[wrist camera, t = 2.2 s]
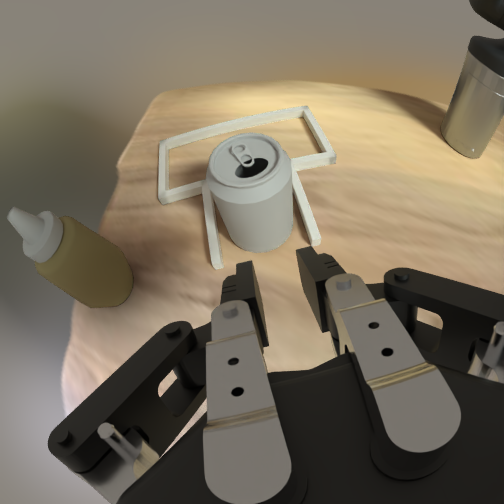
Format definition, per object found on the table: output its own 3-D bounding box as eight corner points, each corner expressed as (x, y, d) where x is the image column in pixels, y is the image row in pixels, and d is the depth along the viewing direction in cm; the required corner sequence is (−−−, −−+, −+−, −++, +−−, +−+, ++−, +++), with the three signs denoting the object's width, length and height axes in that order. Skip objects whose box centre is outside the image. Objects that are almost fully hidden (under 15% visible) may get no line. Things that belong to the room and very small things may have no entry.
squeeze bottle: (85, 279, 33) (-12, 215, 17) (126, 244, 34) (39, 157, 18) (105, 328, 30) (-13, 277, 13) (152, 290, 31) (45, 209, 15)
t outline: (367, 232, 30) (370, 226, 29) (166, 281, 31) (161, 276, 30) (307, 112, 40) (307, 105, 39) (163, 147, 41) (159, 141, 40)
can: (246, 267, 30) (221, 207, 20) (219, 217, 34) (188, 149, 23) (305, 236, 31) (309, 165, 20) (273, 191, 34) (263, 116, 23)
